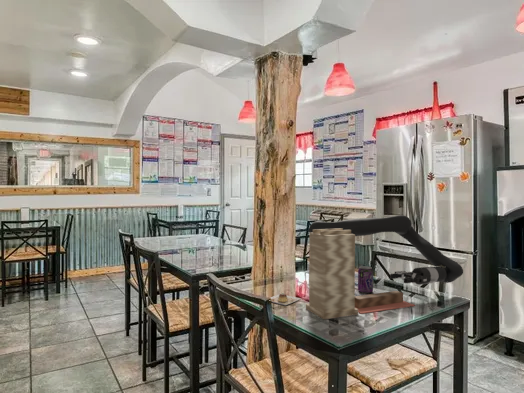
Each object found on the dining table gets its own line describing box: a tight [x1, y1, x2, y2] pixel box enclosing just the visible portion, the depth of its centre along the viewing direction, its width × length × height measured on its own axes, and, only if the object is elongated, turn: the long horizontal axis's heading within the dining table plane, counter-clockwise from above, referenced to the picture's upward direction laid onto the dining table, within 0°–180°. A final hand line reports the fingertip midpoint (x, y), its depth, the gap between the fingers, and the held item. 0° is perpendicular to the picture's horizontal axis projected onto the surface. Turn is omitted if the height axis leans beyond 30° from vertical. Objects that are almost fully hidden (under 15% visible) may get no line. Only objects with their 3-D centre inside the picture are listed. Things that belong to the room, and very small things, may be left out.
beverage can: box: [357, 265, 374, 294], centre depth 179 cm, size 7×7×12 cm
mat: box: [355, 300, 416, 315], centre depth 158 cm, size 28×14×1 cm, turn 112°
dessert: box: [269, 290, 302, 306], centre depth 164 cm, size 12×12×5 cm
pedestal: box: [305, 228, 359, 320], centre depth 149 cm, size 16×14×34 cm
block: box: [355, 290, 404, 309], centre depth 158 cm, size 24×4×4 cm, turn 113°
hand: (397, 278), depth 162 cm, fingers open, 8 cm apart
